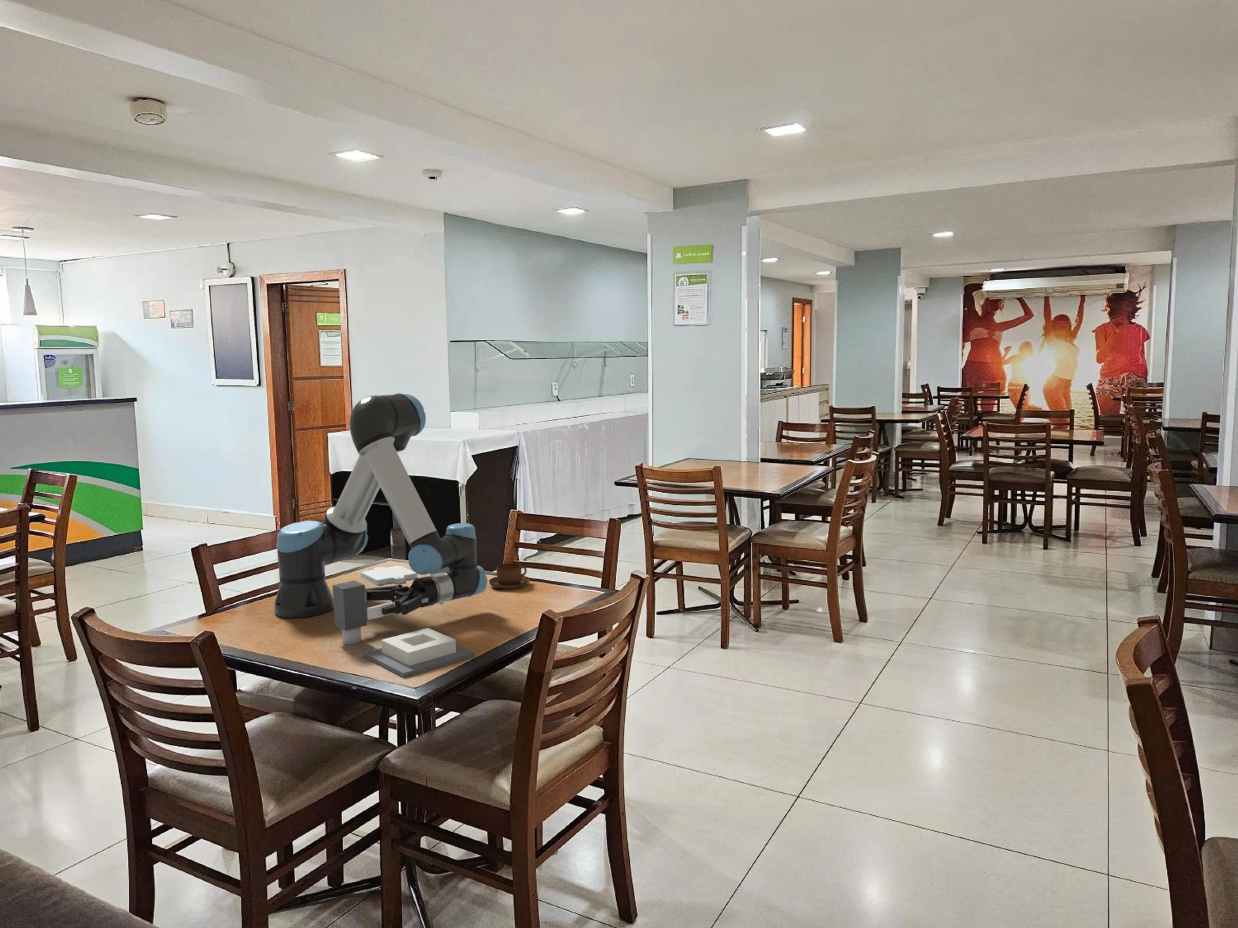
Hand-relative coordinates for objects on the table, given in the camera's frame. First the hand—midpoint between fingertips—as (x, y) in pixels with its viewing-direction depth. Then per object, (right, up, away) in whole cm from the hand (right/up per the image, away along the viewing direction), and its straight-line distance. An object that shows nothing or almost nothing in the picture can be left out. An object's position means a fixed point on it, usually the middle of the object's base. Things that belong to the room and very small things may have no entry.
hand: (354, 607), depth 205 cm
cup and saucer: (+31, -2, +49) cm, 58 cm away
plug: (-1, -8, +1) cm, 8 cm away
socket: (+18, -9, -10) cm, 23 cm away
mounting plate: (-8, -1, +61) cm, 61 cm away
